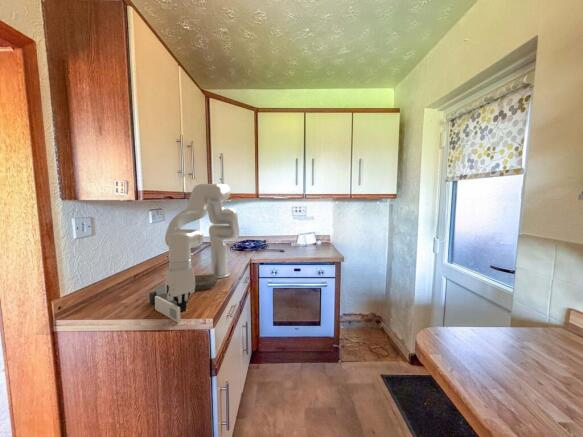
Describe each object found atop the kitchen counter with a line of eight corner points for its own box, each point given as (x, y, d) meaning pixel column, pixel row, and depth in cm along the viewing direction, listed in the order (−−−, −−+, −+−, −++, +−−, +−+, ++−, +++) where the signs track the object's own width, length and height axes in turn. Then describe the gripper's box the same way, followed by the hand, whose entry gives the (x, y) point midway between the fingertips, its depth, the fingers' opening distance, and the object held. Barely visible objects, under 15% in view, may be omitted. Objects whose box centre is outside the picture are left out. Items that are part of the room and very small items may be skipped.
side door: (157, 308, 100) (157, 295, 100) (180, 321, 89) (180, 307, 89) (154, 309, 99) (153, 296, 99) (176, 323, 88) (176, 308, 88)
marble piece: (181, 292, 120) (180, 284, 120) (186, 282, 134) (186, 275, 134) (216, 289, 124) (215, 281, 124) (217, 280, 138) (217, 273, 138)
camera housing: (148, 300, 109) (148, 286, 108) (183, 294, 117) (182, 280, 116) (150, 310, 99) (150, 294, 99) (188, 302, 107) (187, 287, 107)
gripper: (192, 259, 100) (193, 302, 101) (155, 267, 88) (156, 315, 89) (203, 262, 95) (204, 306, 97) (165, 270, 83) (167, 321, 85)
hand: (181, 311), depth 93 cm, fingers closed
